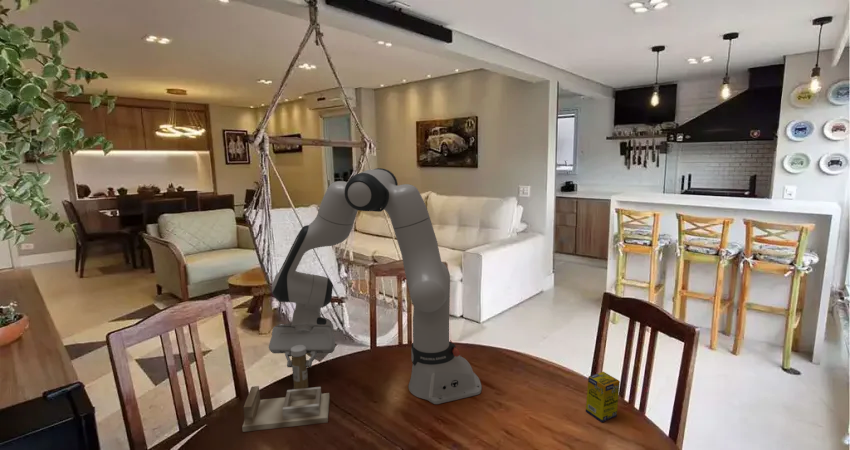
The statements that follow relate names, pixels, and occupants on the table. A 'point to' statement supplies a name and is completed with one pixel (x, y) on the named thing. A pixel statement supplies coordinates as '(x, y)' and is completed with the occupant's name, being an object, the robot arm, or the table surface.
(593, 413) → the supplement box
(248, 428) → the caddy
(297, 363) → the sprinkles bottle
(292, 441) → the table surface
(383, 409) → the table surface
